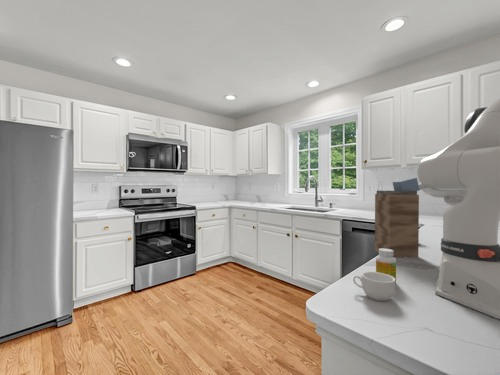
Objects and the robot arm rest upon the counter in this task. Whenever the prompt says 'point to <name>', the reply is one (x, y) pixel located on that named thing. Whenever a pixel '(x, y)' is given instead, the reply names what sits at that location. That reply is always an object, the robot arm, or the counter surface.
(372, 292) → the teacup
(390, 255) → the supplement bottle
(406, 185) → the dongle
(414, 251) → the socket tower
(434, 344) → the counter surface
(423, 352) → the counter surface
